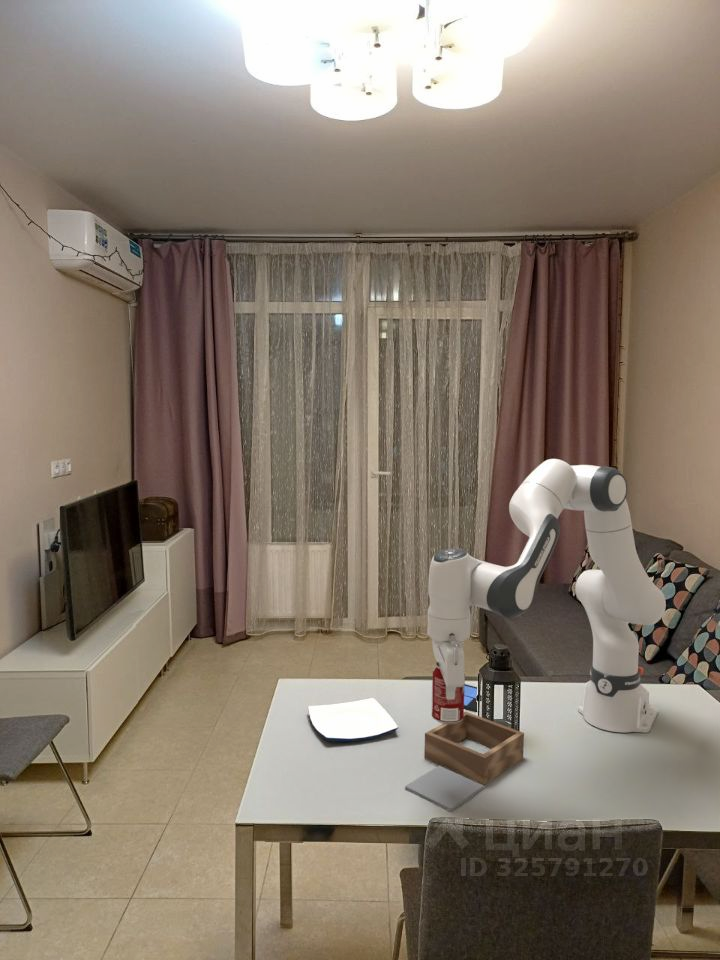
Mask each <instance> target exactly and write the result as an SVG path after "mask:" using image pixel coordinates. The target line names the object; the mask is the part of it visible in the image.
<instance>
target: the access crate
mask: <svg viewBox="0 0 720 960" xmlns="http://www.w3.org/2000/svg"><path fill="white" fill-rule="evenodd" d="M465 739H468V740H471V741H474V742H476V743H478V744H480V745H483V746H486V747H488V748H491V749H490V750H488V751H486V752H484V753H482V752H480V751H477V750H475V749H472V748H469V747H467V746H464V745H462V744H460V743H459V742H462V741H463V740H465ZM524 745H525V733H524V732H522V731H520V730H517V729H515V728H512V727H508V726H505V725H503V724H501V723H497V722H495V721H492V720H490V719H487V718H484V717H482V716H478V715H476V714H474V713H471V712H468V711H464V717H463V720H462V721H460V722H458V723H456V724H442V723H440V725H438V726H435V727H434V728H432V729H430V730H428V731H427V732H425V733H424V754H423V756H424V757H423V758H424V759H425V760H429V761H430V762H433V763H435V764H437V765H438V766H441V767H443V768H446V769H448V770H450V771H452V772H455V773H457V774H459V775H461V776H464V777H466V778H468V779H470V780H472V781H475V782H477V783H479V784H481V785H486V784H487V783H489V782H490V781H491V779H492V780H493V779H495V778H496V777H497V776H499V775H500V774H502V773H503V772H504V771H506V770H507V769H509V768H510V767H512V766H513V765H515V764H516V763H518V762H519V761H521V760H522V759H524Z"/></svg>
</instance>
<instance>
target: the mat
mask: <svg viewBox="0 0 720 960" xmlns="http://www.w3.org/2000/svg"><path fill="white" fill-rule="evenodd" d="M404 789H405V790H407V791H408V792H411V793H413V794H415V795H417V796H419V797H421V798H423V799H425V800H427V801H429V802H430V803H431V802H432V804H435V805H437V806H439V807H440V808H443V809H445V810H447V811H450V812H452V811H454V810H455V809H457V808H458V807H459V806H461V805H462V804H464V803H465V802H467V801H468V800H470V799H471V798H472V797H474V796H475V795H477V794H478V793H479V792H481V791H482V790H484V789H485V784H482V783H479V782H477V781H475V780H473V779H471V778H468V777H466V776H464V775H462V774H459V773H457V772H455V771H453V770H450V769H448V768H446V767H444V766H441V765H438V766H436V767H434V768H432V769H431V770H430V771H428V772H426V773H424V774H422V775H421V776H420V777H417V778H416V779H415V780H413V781H411V782H410V783H407V784H406V785H405V786H404Z"/></svg>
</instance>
